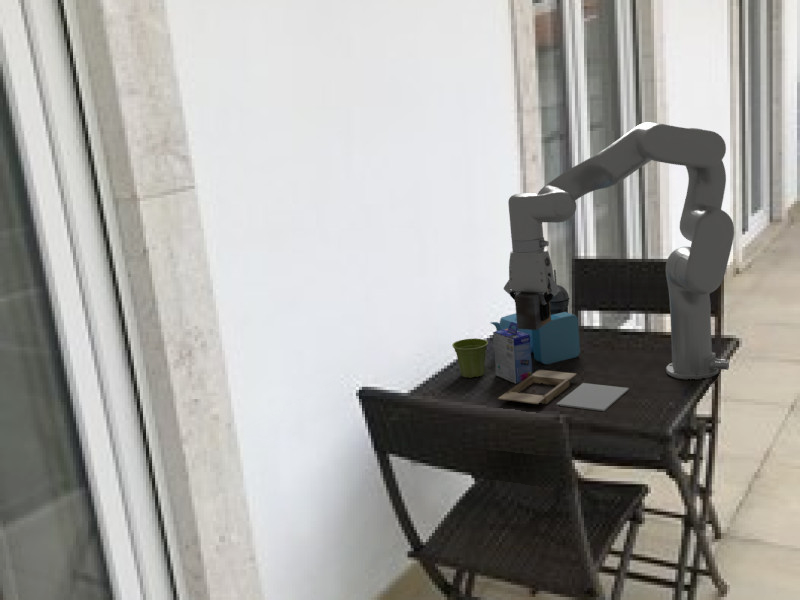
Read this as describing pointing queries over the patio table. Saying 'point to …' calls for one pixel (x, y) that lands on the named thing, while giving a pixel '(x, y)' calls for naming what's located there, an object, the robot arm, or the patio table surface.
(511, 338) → the ink cartridge box
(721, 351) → the patio table surface
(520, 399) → the tan flat frame
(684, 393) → the patio table surface
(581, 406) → the mat
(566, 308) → the beverage cup
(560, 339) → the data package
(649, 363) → the patio table surface
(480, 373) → the plant pot
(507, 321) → the teapot
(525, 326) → the walnut box
